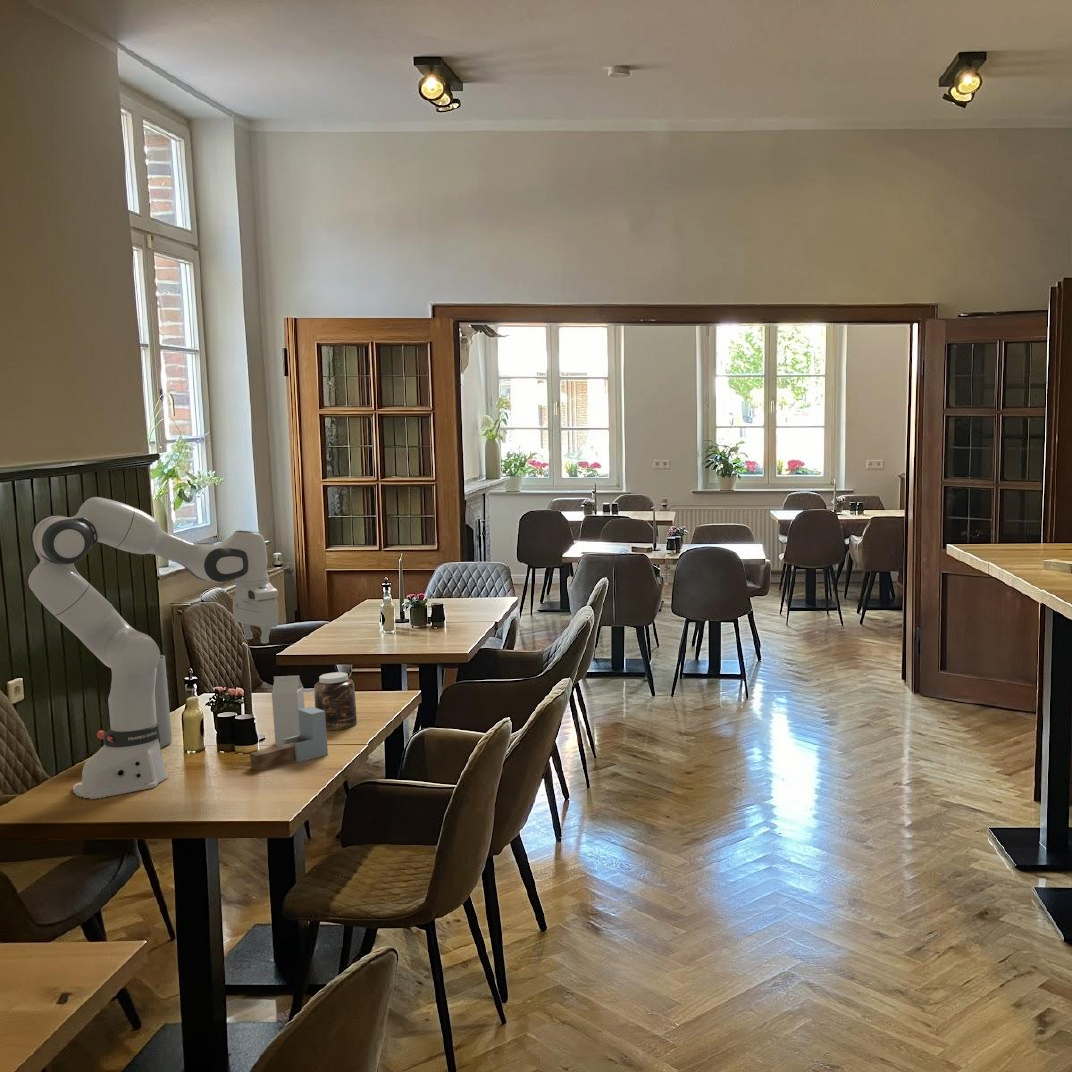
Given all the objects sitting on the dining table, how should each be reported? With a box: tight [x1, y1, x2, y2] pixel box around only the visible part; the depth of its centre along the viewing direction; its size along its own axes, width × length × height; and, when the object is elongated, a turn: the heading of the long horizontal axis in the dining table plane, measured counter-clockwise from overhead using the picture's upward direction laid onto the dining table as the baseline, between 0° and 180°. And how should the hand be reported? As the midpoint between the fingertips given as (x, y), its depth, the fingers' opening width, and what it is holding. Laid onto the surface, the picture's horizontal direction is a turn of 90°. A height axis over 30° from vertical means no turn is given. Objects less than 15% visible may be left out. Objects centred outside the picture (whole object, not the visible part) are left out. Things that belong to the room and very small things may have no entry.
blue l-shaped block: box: [283, 706, 329, 763], centre depth 286 cm, size 9×7×12 cm
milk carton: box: [271, 675, 306, 747], centre depth 299 cm, size 7×7×19 cm
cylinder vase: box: [155, 654, 173, 749], centre depth 303 cm, size 12×12×25 cm
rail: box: [249, 737, 307, 771], centre depth 282 cm, size 15×4×5 cm, turn 131°
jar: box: [313, 671, 358, 731], centre depth 316 cm, size 12×12×15 cm
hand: (256, 641), depth 288 cm, fingers open, 8 cm apart
